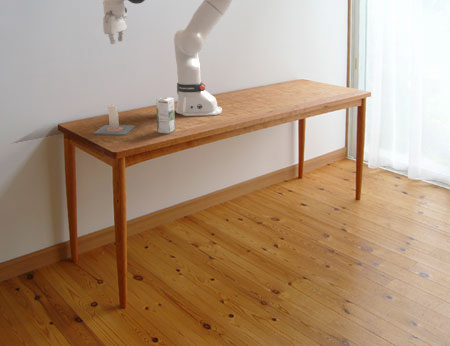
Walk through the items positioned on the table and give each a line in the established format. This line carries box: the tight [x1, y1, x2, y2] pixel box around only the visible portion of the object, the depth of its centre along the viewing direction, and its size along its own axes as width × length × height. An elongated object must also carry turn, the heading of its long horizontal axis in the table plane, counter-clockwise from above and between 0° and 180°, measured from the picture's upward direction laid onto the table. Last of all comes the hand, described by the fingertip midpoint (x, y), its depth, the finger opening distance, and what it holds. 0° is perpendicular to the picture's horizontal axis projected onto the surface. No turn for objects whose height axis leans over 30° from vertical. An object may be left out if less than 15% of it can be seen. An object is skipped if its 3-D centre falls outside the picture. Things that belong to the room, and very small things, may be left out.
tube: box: [107, 104, 120, 130], centre depth 236 cm, size 4×4×10 cm
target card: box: [93, 124, 136, 136], centre depth 238 cm, size 14×13×1 cm
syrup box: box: [155, 96, 176, 134], centre depth 233 cm, size 6×6×14 cm
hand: (116, 42), depth 244 cm, fingers open, 8 cm apart
